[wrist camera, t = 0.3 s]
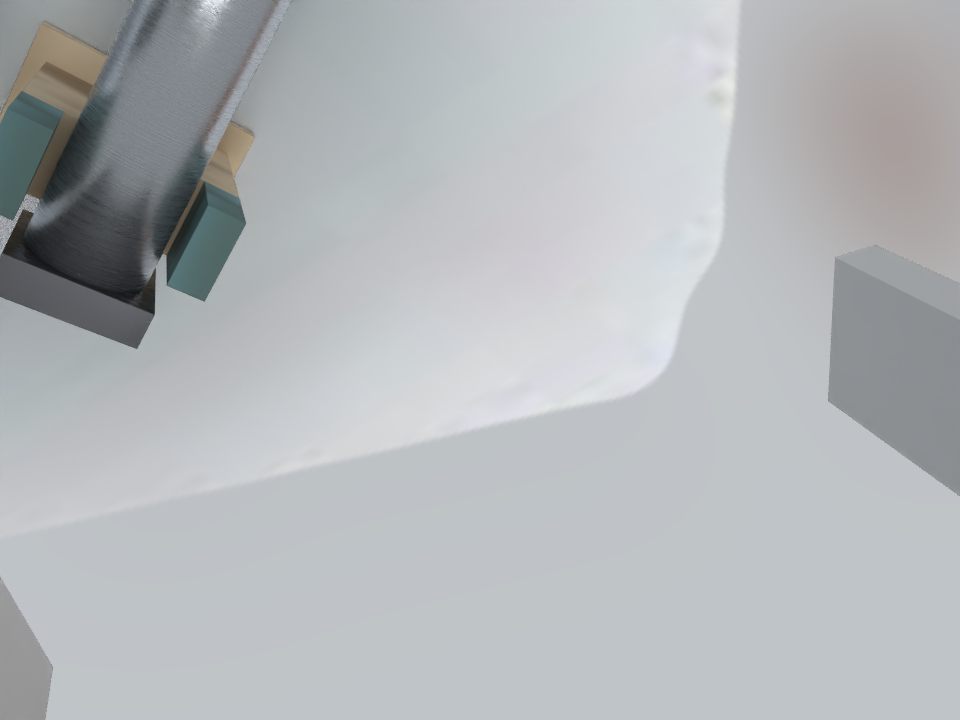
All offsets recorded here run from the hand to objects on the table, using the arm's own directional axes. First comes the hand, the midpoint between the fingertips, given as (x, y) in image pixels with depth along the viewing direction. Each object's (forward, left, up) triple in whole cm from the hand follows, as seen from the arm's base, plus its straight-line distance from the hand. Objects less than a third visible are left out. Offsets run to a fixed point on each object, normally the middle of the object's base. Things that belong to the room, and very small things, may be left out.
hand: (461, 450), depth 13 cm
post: (-5, -3, -25) cm, 26 cm away
